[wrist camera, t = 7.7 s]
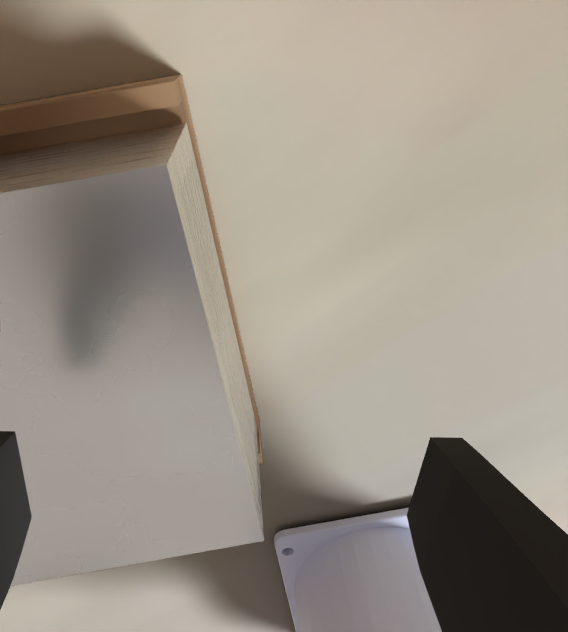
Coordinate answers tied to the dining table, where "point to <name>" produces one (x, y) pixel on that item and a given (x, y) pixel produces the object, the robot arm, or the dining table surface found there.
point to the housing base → (105, 120)
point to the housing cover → (121, 358)
